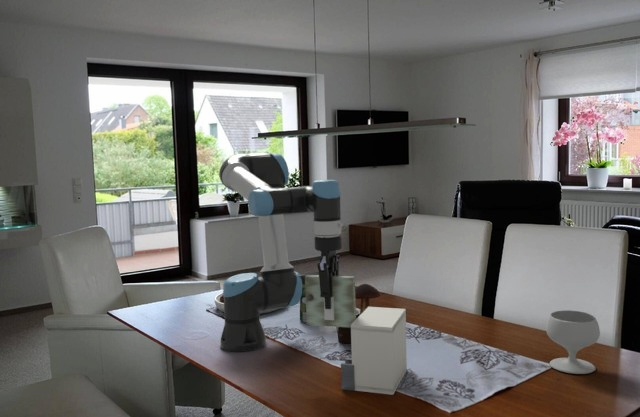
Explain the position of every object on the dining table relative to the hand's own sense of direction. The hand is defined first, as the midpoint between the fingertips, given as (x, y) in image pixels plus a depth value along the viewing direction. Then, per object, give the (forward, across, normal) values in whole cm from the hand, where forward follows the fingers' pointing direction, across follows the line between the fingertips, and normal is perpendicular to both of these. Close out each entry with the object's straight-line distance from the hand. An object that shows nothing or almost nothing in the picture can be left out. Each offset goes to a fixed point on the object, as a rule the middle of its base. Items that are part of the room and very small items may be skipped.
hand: (330, 318), depth 162 cm
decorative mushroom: (+17, +51, +3) cm, 53 cm away
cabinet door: (+2, 0, 0) cm, 2 cm away
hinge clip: (+17, -6, -7) cm, 19 cm away
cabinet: (+17, +1, -14) cm, 22 cm away
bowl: (+16, +64, +56) cm, 86 cm away
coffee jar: (+16, +50, +24) cm, 58 cm away
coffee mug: (+17, +32, +4) cm, 36 cm away
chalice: (+18, +23, -64) cm, 71 cm away
